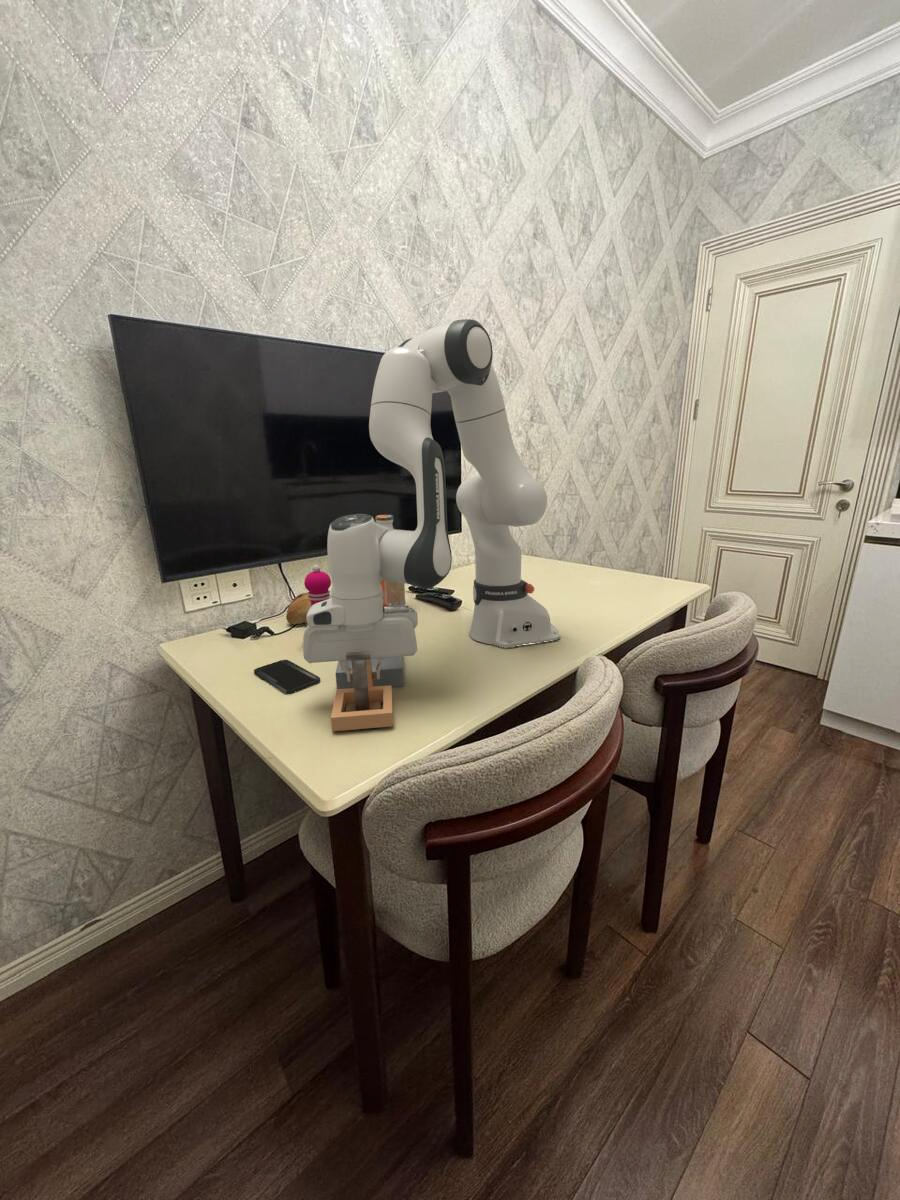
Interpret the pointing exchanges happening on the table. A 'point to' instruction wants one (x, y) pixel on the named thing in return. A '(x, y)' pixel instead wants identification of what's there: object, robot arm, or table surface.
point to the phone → (286, 676)
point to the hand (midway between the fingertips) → (364, 679)
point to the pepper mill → (317, 585)
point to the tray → (388, 674)
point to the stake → (360, 682)
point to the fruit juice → (391, 590)
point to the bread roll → (299, 609)
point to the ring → (367, 717)
